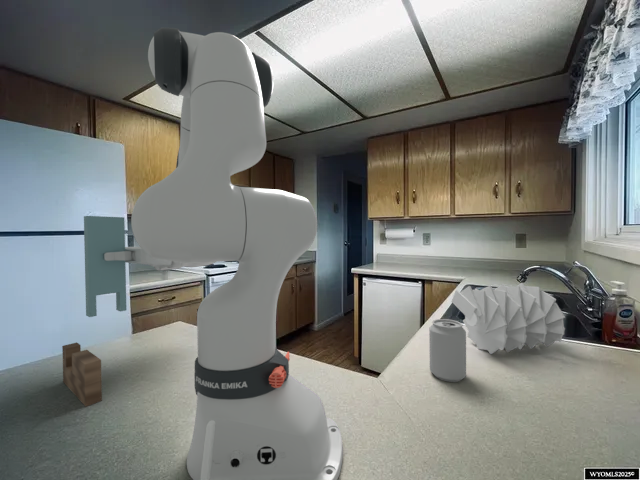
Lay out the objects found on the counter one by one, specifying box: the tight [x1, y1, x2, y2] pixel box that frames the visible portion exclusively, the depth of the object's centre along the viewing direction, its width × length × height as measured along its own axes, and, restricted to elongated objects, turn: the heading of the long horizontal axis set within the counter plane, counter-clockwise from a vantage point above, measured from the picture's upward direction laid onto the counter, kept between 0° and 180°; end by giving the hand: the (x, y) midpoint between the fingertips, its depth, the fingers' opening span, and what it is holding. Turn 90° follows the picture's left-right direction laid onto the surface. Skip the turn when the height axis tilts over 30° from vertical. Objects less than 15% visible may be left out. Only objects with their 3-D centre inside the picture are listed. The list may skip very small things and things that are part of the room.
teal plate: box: [83, 215, 127, 318], centre depth 65 cm, size 2×7×22 cm, turn 143°
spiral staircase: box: [450, 282, 566, 355], centre depth 79 cm, size 18×18×25 cm
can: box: [428, 318, 467, 383], centre depth 64 cm, size 8×8×12 cm
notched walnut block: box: [61, 342, 103, 408], centre depth 59 cm, size 16×2×8 cm, turn 53°
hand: (100, 256), depth 65 cm, fingers closed on teal plate, 2 cm apart
